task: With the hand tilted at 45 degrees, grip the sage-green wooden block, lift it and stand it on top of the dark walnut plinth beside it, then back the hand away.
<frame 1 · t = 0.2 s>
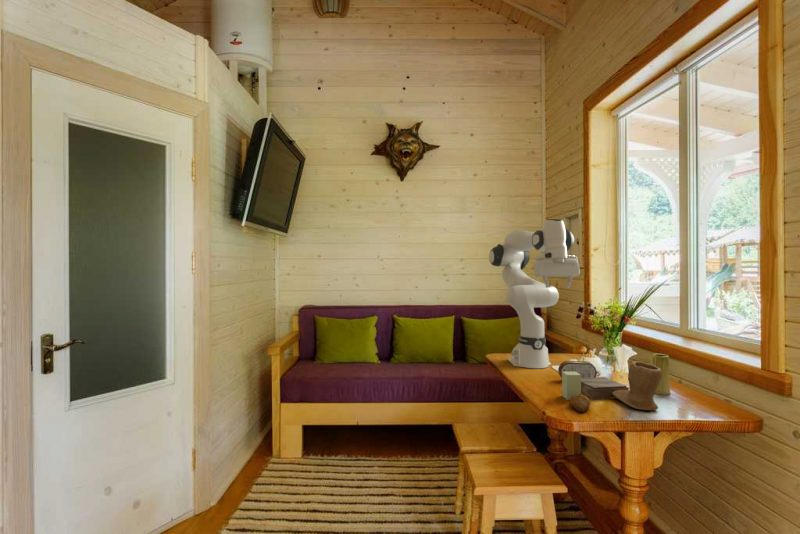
hand: (558, 287, 185), 39 cm above the table, tool pointing down, fingers open, 8 cm apart
tin: (577, 382, 180), on the table
plinth: (599, 392, 164), on the table
vase: (660, 393, 164), on the table
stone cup: (638, 406, 149), on the table
brown rounded lump: (580, 408, 147), on the table
block: (571, 397, 158), on the table
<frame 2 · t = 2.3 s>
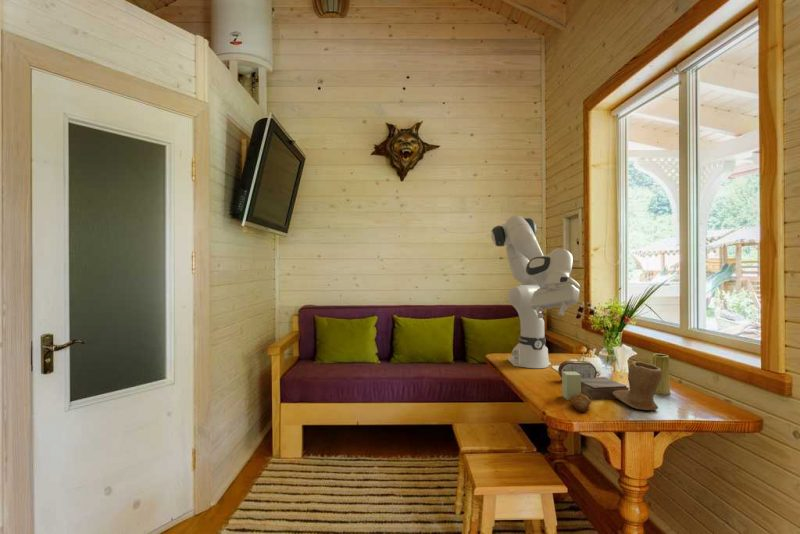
hand: (549, 316, 164), 29 cm above the table, tool tilted 35°, fingers open, 8 cm apart
nothing on the table moved.
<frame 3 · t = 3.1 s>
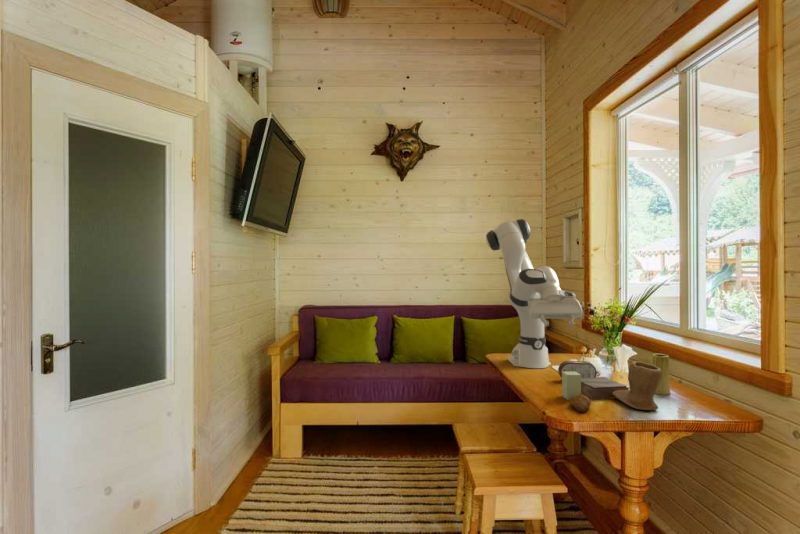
hand: (559, 325, 169), 25 cm above the table, tool tilted 45°, fingers open, 8 cm apart
nothing on the table moved.
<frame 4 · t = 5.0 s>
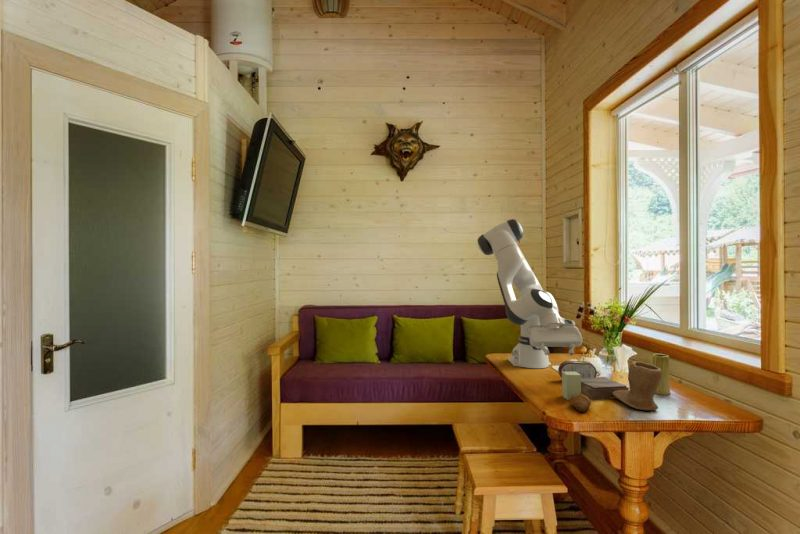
hand: (559, 354, 168), 14 cm above the table, tool tilted 45°, fingers open, 8 cm apart
nothing on the table moved.
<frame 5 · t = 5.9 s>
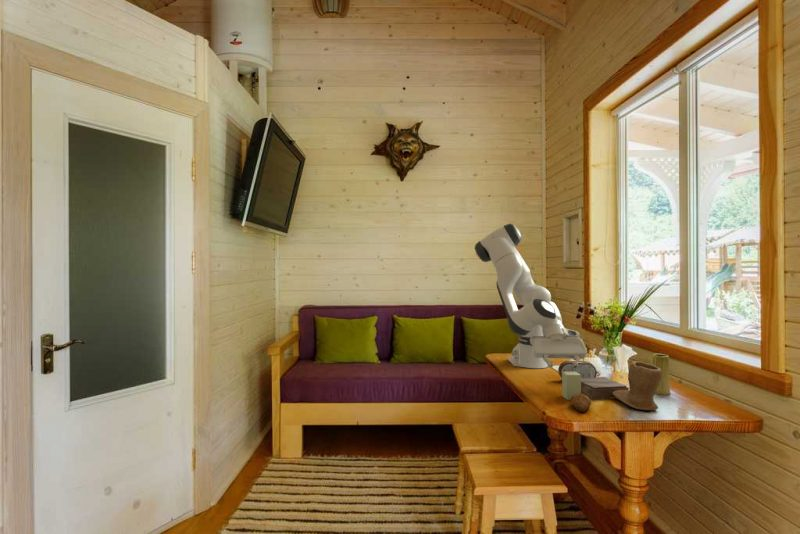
hand: (563, 366, 163), 10 cm above the table, tool tilted 45°, fingers open, 8 cm apart
nothing on the table moved.
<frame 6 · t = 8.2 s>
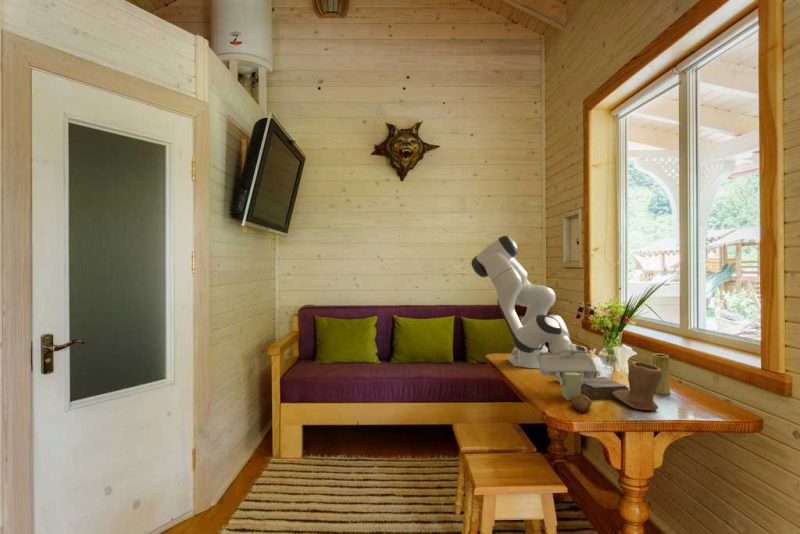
hand: (572, 384, 157), 5 cm above the table, tool tilted 45°, fingers closed on block, 5 cm apart
block: (571, 397, 158), on the table, touching gripper
everything else where it was.
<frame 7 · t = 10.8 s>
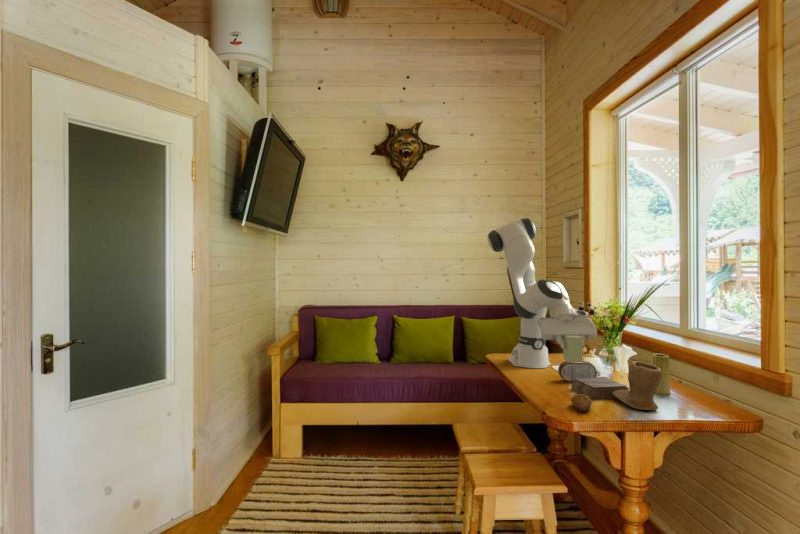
hand: (573, 347, 157), 18 cm above the table, tool tilted 45°, fingers closed on block, 5 cm apart
block: (572, 360, 158), point 14 cm above the table, touching gripper
everything else where it was.
when the fingers open (10 cm above the table, at t = 14.9 s): block drops 2 cm, resting on plinth.
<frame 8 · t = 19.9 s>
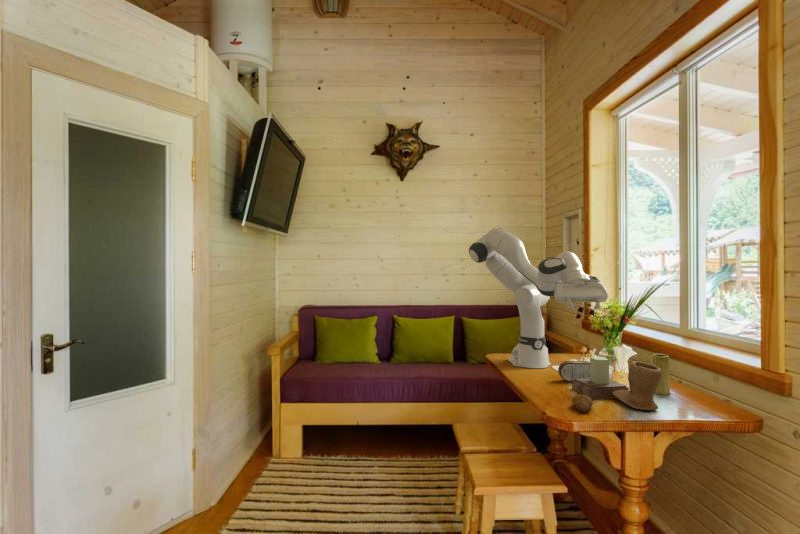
hand: (585, 308, 169), 31 cm above the table, tool tilted 45°, fingers open, 8 cm apart
block: (599, 382, 164), point 4 cm above the table, touching plinth
everything else where it was.
at the end: block inside the target area on the plinth (0.0 cm from its centre), point 4.0 cm above the plinth's base; block tilted 0°; the gripper is holding nothing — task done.
